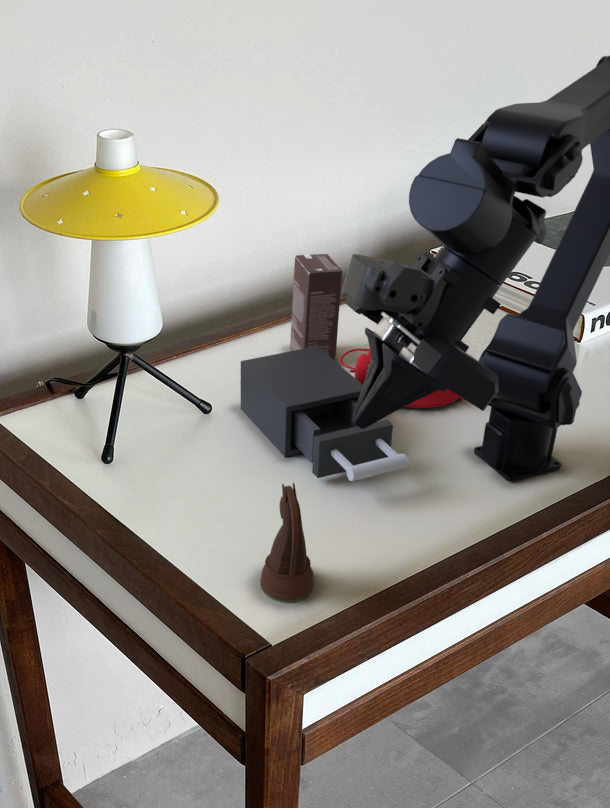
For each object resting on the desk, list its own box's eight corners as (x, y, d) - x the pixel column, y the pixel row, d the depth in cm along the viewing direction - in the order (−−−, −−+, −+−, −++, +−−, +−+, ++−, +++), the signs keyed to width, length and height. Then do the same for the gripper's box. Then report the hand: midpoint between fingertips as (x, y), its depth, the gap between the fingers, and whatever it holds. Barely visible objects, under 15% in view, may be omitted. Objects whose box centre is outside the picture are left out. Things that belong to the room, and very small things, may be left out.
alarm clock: (459, 391, 108) (335, 335, 112) (440, 437, 112) (321, 382, 116) (487, 353, 116) (371, 302, 120) (469, 398, 120) (356, 347, 124)
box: (338, 365, 122) (343, 269, 115) (301, 369, 121) (305, 273, 114) (323, 344, 127) (328, 251, 120) (288, 348, 126) (291, 254, 119)
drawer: (415, 485, 99) (419, 448, 96) (341, 504, 96) (344, 466, 94) (340, 414, 110) (342, 380, 108) (272, 430, 108) (273, 395, 105)
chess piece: (307, 566, 89) (311, 471, 84) (320, 603, 85) (325, 505, 80) (256, 572, 89) (257, 476, 83) (266, 609, 85) (268, 510, 79)
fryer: (364, 438, 108) (368, 389, 104) (284, 457, 105) (286, 407, 101) (315, 392, 116) (317, 345, 113) (240, 408, 113) (240, 360, 110)
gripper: (354, 188, 85) (251, 343, 90) (451, 244, 69) (320, 429, 74) (447, 256, 90) (345, 399, 95) (556, 322, 75) (428, 490, 79)
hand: (356, 425), depth 85 cm, fingers closed
